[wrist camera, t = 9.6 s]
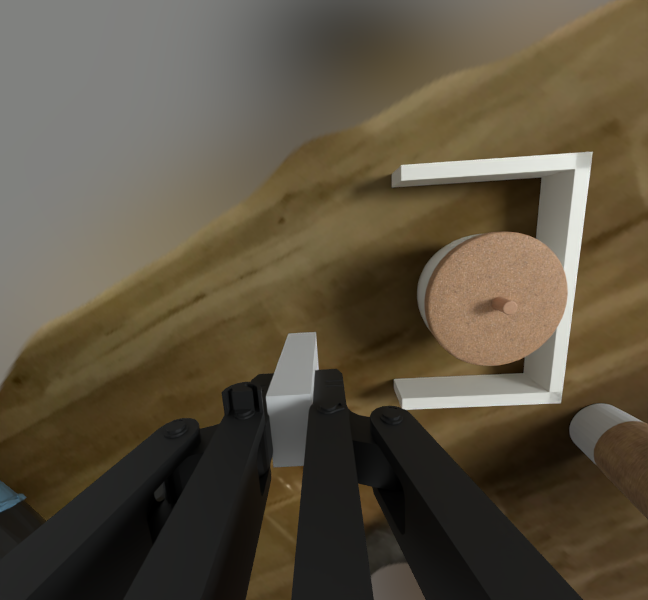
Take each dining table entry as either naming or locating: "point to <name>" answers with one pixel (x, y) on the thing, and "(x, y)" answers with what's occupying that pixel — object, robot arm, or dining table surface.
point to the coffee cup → (615, 448)
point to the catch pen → (552, 229)
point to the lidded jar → (492, 297)
